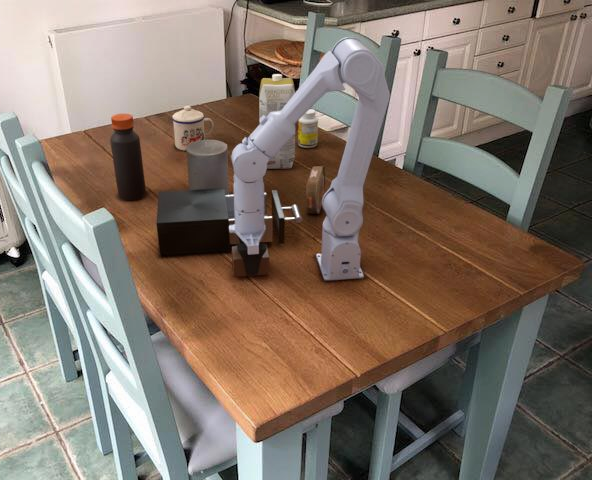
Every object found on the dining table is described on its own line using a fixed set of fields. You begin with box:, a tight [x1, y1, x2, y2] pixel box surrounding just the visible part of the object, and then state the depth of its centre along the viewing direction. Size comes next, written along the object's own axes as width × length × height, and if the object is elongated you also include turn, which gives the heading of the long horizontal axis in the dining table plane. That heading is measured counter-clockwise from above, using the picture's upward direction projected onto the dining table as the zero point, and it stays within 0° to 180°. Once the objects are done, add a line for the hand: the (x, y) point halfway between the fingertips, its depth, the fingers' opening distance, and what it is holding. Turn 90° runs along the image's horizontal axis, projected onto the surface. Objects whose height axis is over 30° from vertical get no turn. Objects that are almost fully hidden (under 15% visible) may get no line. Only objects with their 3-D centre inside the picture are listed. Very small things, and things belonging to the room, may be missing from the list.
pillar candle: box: [186, 139, 230, 195], centre depth 150 cm, size 10×10×15 cm
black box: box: [156, 188, 231, 258], centre depth 137 cm, size 15×15×8 cm
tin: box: [305, 165, 326, 215], centre depth 150 cm, size 15×3×8 cm, turn 168°
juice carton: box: [258, 73, 296, 170], centre depth 166 cm, size 9×8×24 cm
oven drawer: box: [226, 189, 303, 245], centre depth 138 cm, size 18×13×6 cm
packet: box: [231, 244, 270, 278], centre depth 126 cm, size 5×7×4 cm
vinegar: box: [109, 113, 147, 201], centre depth 151 cm, size 7×7×20 cm
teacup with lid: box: [171, 105, 215, 152], centre depth 181 cm, size 12×9×12 cm
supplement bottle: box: [297, 108, 319, 149], centre depth 180 cm, size 6×6×10 cm
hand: (250, 266), depth 127 cm, fingers closed on packet, 5 cm apart
